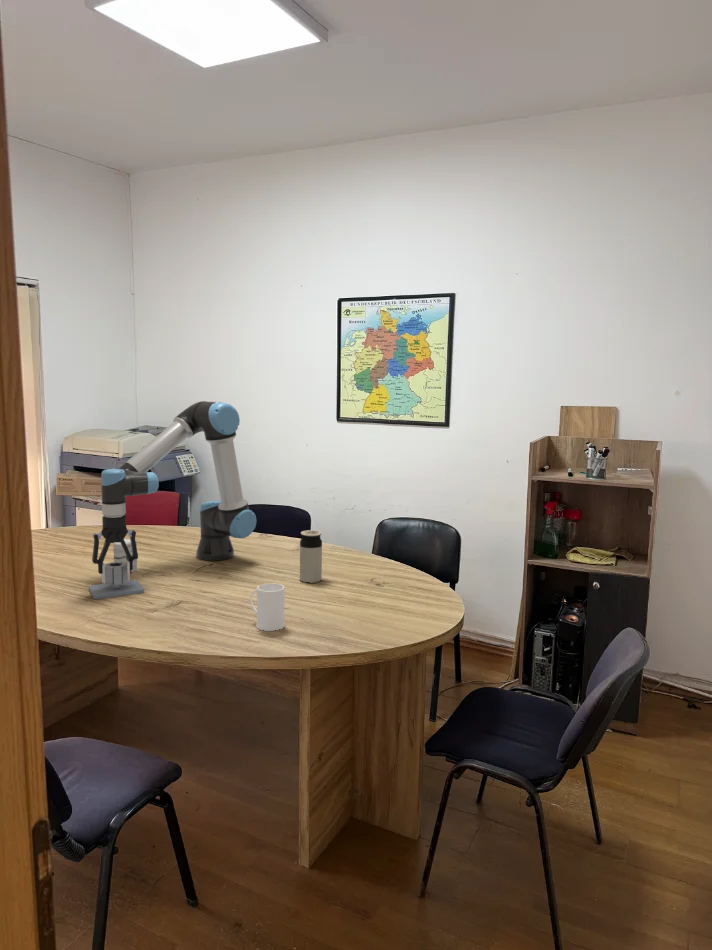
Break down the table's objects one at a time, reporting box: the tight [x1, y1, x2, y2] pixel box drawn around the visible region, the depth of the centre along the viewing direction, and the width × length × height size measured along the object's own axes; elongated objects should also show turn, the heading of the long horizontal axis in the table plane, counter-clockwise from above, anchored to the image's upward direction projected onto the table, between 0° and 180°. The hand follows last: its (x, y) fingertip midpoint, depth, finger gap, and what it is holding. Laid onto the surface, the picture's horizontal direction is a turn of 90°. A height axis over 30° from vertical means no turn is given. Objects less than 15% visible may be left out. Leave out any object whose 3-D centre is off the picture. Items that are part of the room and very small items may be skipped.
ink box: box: [113, 538, 138, 574], centre depth 246 cm, size 9×5×12 cm, turn 168°
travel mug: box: [299, 529, 323, 583], centre depth 241 cm, size 8×8×18 cm
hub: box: [104, 561, 128, 585], centre depth 224 cm, size 7×7×6 cm
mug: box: [249, 582, 286, 632], centre depth 197 cm, size 12×8×12 cm
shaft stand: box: [88, 579, 145, 600], centre depth 225 cm, size 16×12×7 cm
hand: (116, 580), depth 225 cm, fingers closed on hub, 7 cm apart
